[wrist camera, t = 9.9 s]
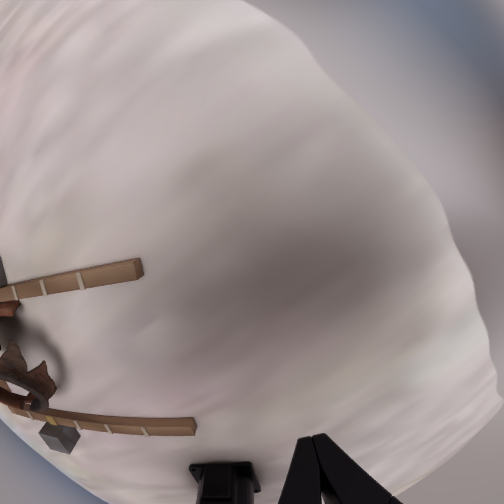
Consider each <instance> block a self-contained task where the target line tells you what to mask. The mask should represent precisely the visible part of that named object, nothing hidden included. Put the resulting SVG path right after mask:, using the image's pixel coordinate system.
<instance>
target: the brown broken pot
mask: <svg viewBox="0 0 504 504" xmlns="http://www.w3.org/2000/svg"><path fill="white" fill-rule="evenodd" d="M19 304H20V301H19V300H10V301H4V302H0V316H10V317H12V316H14V313H15V308H17V307H18V305H19ZM0 350H1V345H0ZM0 380H3V381H7V382H10V383H12V384H15V385H17V386H19V387H22V388H24V389H25V390H27V391H29V394H28V395H27V396H22V395H19V394H15V393H12V392H9V391H8V390H6V389H4V388H2V387H1V386H0V402H1V403H3V404H5V405H7V406H10V407H12V408H15V409H18V410H23V408H24V403H31V405H30V411H31V412H43V411H45V410H47V409H48V407H49V402H48V400H49V398H51V397H52V396H53V395H54V394H55V392H56V389H57V387H56V386H55V383H54V381H53V380H52V379H51V378H50V376H49V375H48V372H47V365H46V362H45V361H42V363H41V364H40V365H39V366H38V367H36V368H34V369H32V370H31V371H29V372H27V365H26V362H25V360H24V358H23V356H22V355H21V352H20V349H19V347H18V346H17V345H16V344H15V343H14V342H12V341H10V342H9V345H8V348H7V351H5V352H4V353H3V354H2V356H1V357H0Z"/></svg>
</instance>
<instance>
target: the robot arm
mask: <svg viewBox="0 0 504 504" xmlns="http://www.w3.org/2000/svg"><path fill="white" fill-rule="evenodd" d="M189 471H190V472H191V474H192V475H193V477H194V478H195V480H196V481H197V483H198V484H199V486H198V493H197V500H196V504H254V493H258V492H260V491H261V487H260V485H259V482H258V479H257V476H256V474H255V471H254V468H253V465H252V464H251V463H249V462H245V463H232V464H212V465H190V466H189ZM321 494H322V497H323V500H324V502H325V504H403V503H401V502H400V501H399V500H398V499H397V498H395V497H394V496H392V494H391V493H389V492H388V491H387V490H386V489H385V488H384V487H382V486H381V485H380V484H379V483H378V482H377V481H376V480H374V479H373V478H372V477H371V476H370V475H369V474H368V473H367V472H365V471H364V470H363V469H362V468H361V467H360V466H359V465H358V464H357V463H356V462H355V461H354V460H352V459H351V458H350V457H349V456H348V455H347V454H346V453H345V452H344V451H343V450H342V449H341V448H340V447H339V446H338V445H337V444H336V443H335V442H334V441H333V440H332V439H331V438H330V437H329V436H328V435H326V434H325V433H321V434H316V435H313V436H312V437H311V436H307V437H302V438H299V439H298V440H297V444H296V447H295V451H294V454H293V458H292V461H291V464H290V468H289V471H288V474H287V477H286V481H285V484H284V487H283V490H282V493H281V496H280V499H279V502H278V504H322V499H321Z"/></svg>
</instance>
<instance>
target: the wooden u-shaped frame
mask: <svg viewBox="0 0 504 504" xmlns="http://www.w3.org/2000/svg"><path fill="white" fill-rule="evenodd" d="M143 275H144V274H143V270H142V266H141V262H140V258H135V259H130V260H125V261H120V262H115V263H110V264H105V265H100V266H95V267H90V268H85V269H80V270H75V271H70V272H66V273H61V274H56V275H51V276H47V277H42V278H37V279H32V280H28V281H23V282H18V283H14V284H9V285H6V284H7V280H6V277H5V273H4V269H3V265H2V261H1V257H0V302H4V301H10V300H19V299H23V298H30V297H36V296H42V295H44V296H47V295H48V294H55V293H61V292H67V291H73V290H79V289H80V290H85V289H86V288H92V287H98V286H104V285H110V284H116V283H122V282H128V281H134V280H138V279H139V278H140V277H142V276H143ZM4 285H5V286H4ZM0 386H1V387H2V388H4V389H6V390H8V391H9V392H11V391H10V389H9V387H8V385H7V383H6V382H5V381H3V380H0ZM8 407H9V409H10V410H11V412H12V413H14V414H17V415H21V416H24V417H28V418H31V419H32V420H34V419H36V420H40V421H44V422H46V423H45V425H44V426H43V427H42V429H41V430H40V432H39V434H40V436H41V437H42V439H43V440H44V441H45V443H46V444H47V445H48V446H49V448H50V449H52V450H55V451H59V452H63V453H67V454H70V453H71V452H72V450H73V448H74V446H75V445H76V443H77V441H78V440H79V438H80V435H79V433H78V432H77V430H76V429H75V428H78V429H79V430H82V429H86V430H93V431H101V432H109V434H113V433H120V434H132V435H145V437H150V435H151V436H195V433H196V428H197V426H196V424H195V421H194V419H193V417H191V418H130V417H113V416H100V415H90V414H82V413H74V412H67V411H60V410H54V409H49V408H48V409H47V410H45V411H43V412H31V411H30V405H29V404H24V408H23V410H18V409H15V408H12V407H10V406H8Z"/></svg>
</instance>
